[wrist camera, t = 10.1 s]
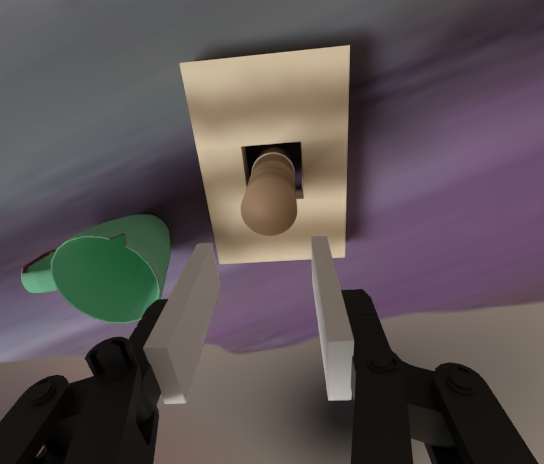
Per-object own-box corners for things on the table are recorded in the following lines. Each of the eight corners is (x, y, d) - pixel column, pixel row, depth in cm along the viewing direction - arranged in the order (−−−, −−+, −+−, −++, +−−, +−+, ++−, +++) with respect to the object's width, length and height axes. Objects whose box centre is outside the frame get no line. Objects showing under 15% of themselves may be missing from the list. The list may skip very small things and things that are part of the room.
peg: (252, 147, 31) (235, 184, 21) (292, 143, 31) (296, 180, 20) (256, 185, 33) (243, 238, 23) (294, 182, 33) (299, 235, 22)
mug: (177, 188, 34) (139, 229, 25) (199, 263, 38) (173, 320, 29) (55, 203, 35) (-23, 246, 26) (89, 273, 39) (33, 330, 31)
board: (189, 64, 28) (179, 63, 25) (343, 48, 27) (350, 45, 24) (224, 250, 37) (219, 264, 34) (340, 243, 36) (344, 257, 33)
